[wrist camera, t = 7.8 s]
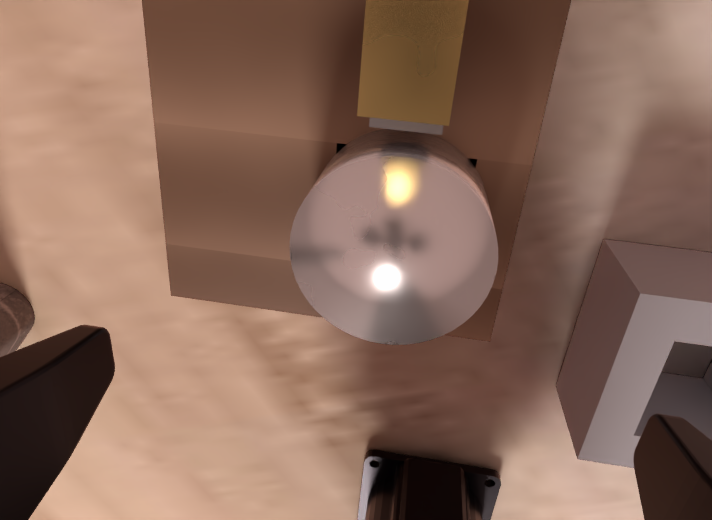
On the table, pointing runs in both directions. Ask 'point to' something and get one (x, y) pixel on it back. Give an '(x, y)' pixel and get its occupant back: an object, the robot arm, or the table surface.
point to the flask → (13, 319)
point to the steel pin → (396, 239)
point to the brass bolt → (411, 59)
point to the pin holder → (636, 348)
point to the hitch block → (318, 129)
